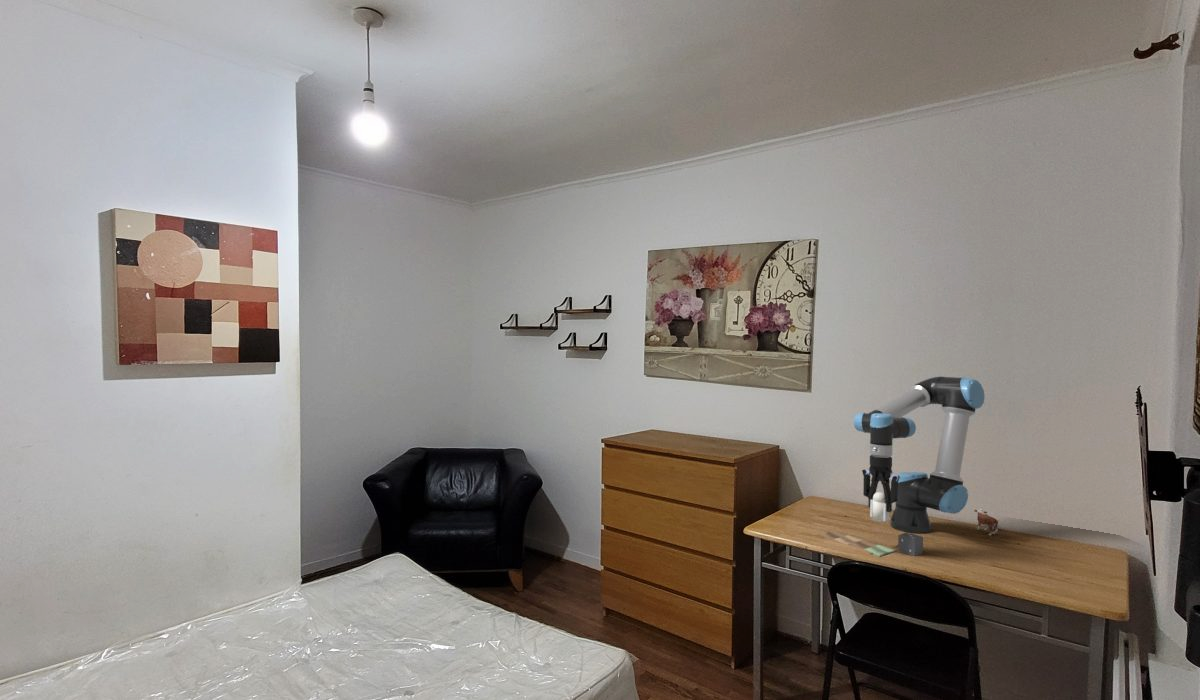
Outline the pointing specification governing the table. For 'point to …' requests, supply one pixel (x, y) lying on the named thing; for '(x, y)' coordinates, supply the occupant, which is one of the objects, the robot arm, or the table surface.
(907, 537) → the die
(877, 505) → the pawn
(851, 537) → the lane
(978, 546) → the table surface
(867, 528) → the table surface
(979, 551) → the table surface
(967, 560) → the table surface
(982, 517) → the bull figurine
